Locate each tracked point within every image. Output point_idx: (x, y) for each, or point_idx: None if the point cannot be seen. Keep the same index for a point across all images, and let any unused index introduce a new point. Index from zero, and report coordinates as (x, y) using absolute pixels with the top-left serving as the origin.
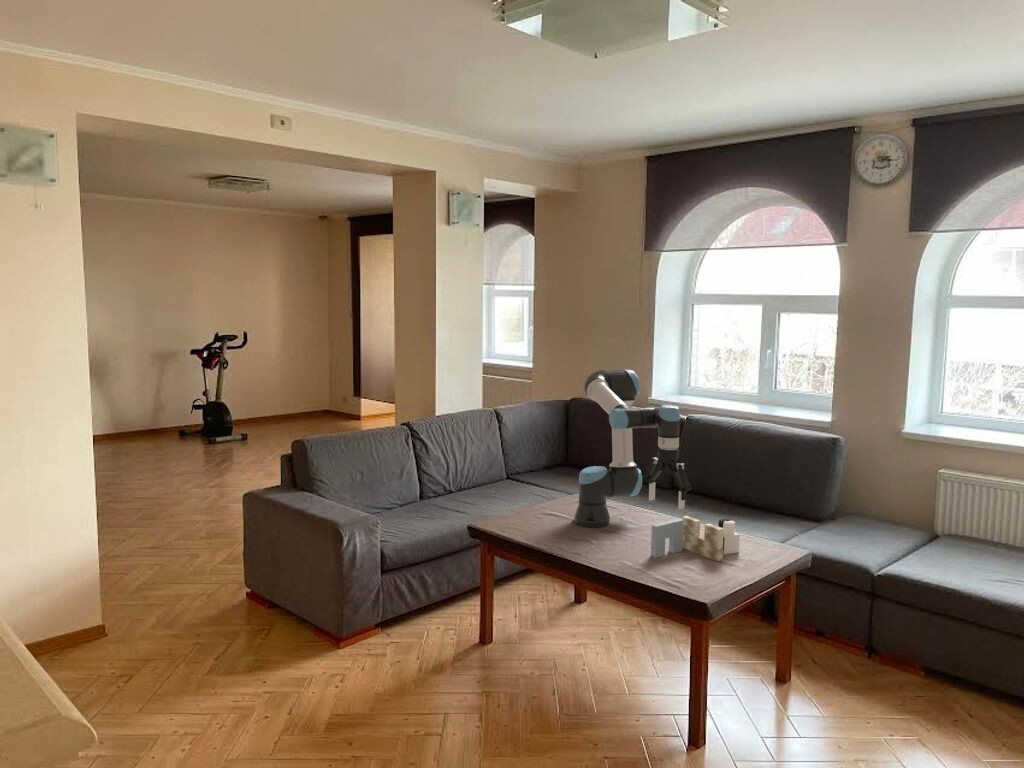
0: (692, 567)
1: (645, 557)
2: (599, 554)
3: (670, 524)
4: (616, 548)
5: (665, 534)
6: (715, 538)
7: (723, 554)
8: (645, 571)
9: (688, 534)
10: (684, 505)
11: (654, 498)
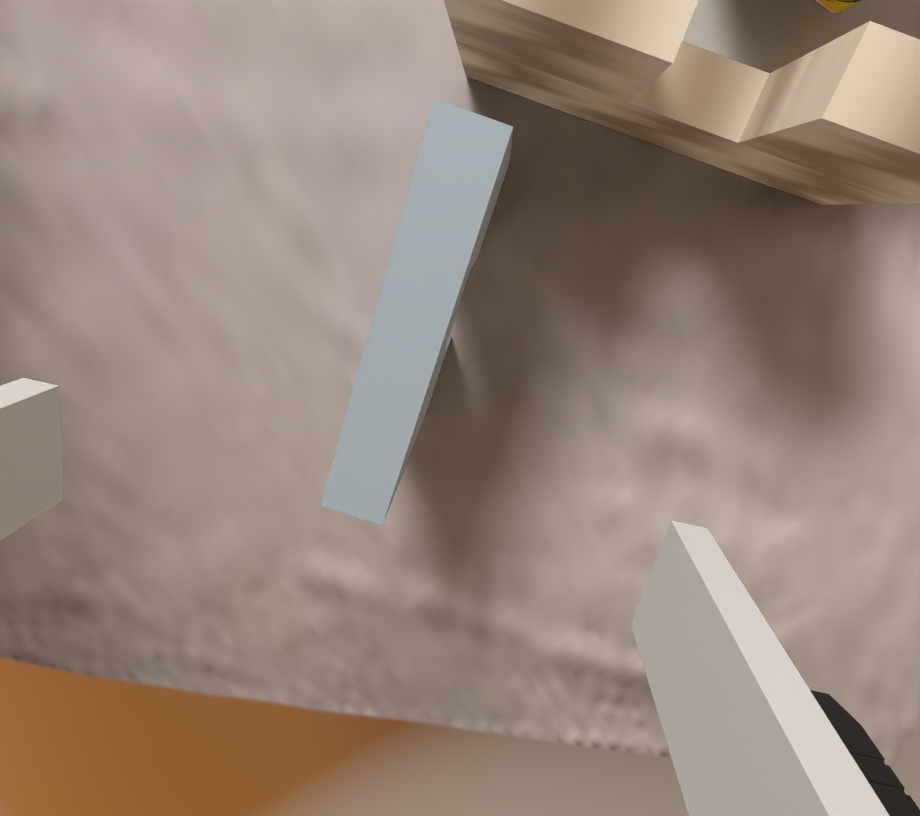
0: (689, 422)
1: None
2: (153, 551)
3: (442, 340)
4: (151, 412)
5: (433, 378)
6: (907, 187)
7: (834, 12)
8: (481, 620)
9: (542, 73)
10: (721, 554)
11: (41, 406)
